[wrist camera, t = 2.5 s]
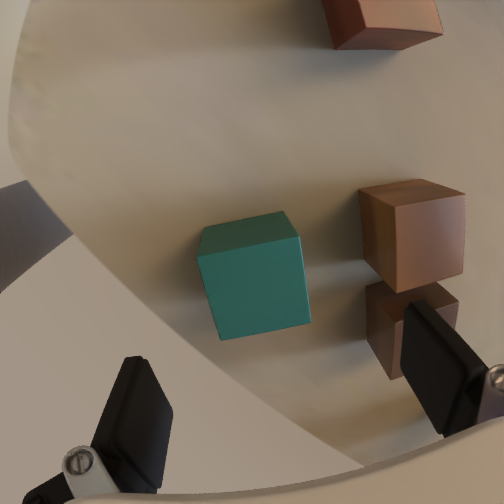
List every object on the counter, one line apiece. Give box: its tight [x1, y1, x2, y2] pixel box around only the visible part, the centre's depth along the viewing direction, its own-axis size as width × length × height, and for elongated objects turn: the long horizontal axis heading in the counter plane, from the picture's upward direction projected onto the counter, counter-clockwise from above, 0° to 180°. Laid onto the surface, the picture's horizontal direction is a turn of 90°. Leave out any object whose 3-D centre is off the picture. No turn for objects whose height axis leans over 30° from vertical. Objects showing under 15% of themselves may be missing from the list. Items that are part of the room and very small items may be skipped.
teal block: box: [196, 211, 311, 341], centre depth 18 cm, size 5×5×5 cm
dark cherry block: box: [322, 0, 444, 50], centre depth 13 cm, size 5×5×5 cm
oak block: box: [359, 179, 466, 293], centre depth 18 cm, size 5×5×5 cm
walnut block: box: [366, 281, 459, 380], centre depth 20 cm, size 5×5×5 cm
